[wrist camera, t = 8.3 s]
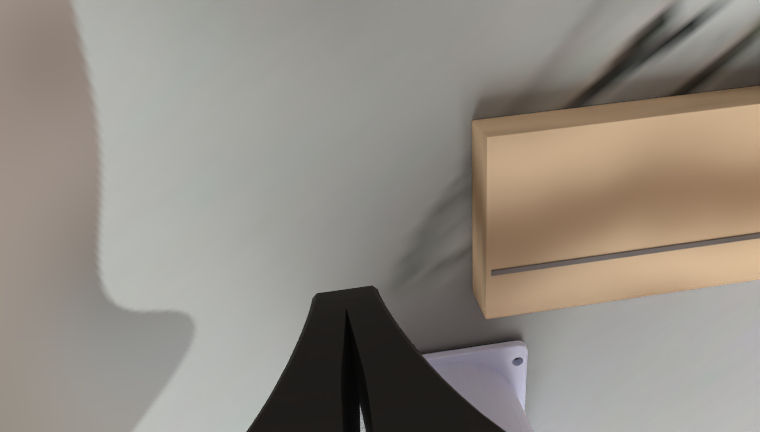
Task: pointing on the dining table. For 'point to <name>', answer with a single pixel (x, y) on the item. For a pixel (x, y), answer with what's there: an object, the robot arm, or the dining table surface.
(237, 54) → the dining table surface
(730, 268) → the board
